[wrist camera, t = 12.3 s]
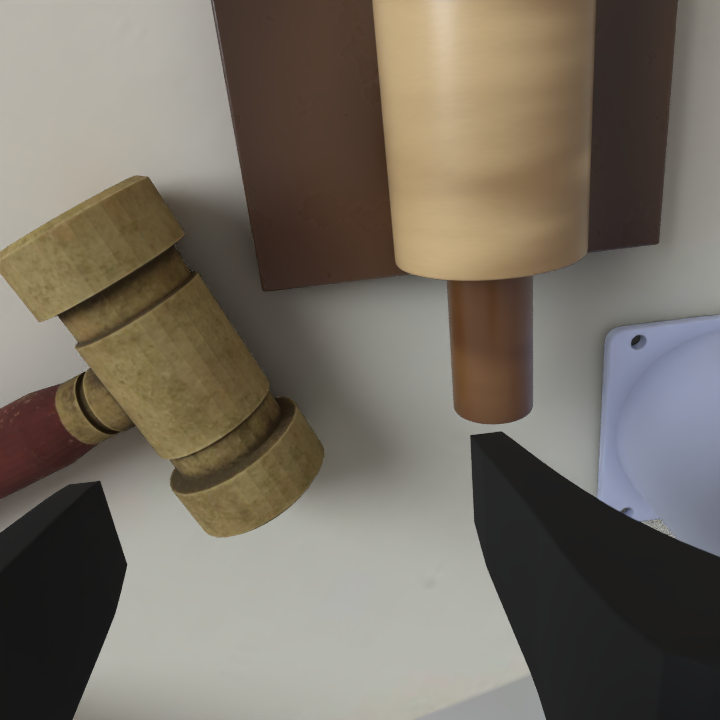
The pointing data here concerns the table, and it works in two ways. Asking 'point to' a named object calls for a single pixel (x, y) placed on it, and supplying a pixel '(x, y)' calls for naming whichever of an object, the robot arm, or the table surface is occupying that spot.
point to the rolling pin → (488, 170)
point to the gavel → (150, 367)
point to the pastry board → (366, 133)
